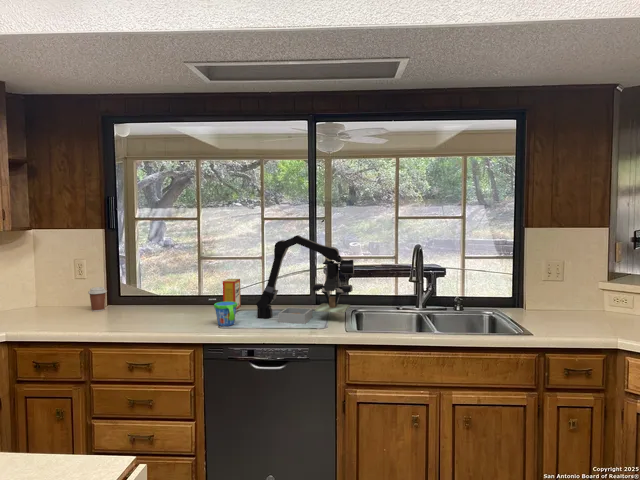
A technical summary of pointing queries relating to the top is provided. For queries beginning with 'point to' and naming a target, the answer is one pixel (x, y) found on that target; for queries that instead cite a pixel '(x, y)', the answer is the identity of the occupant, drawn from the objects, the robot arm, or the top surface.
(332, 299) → the lid
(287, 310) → the bin
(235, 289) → the baking soda box
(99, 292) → the coffee cup
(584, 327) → the top surface
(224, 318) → the snack cup
